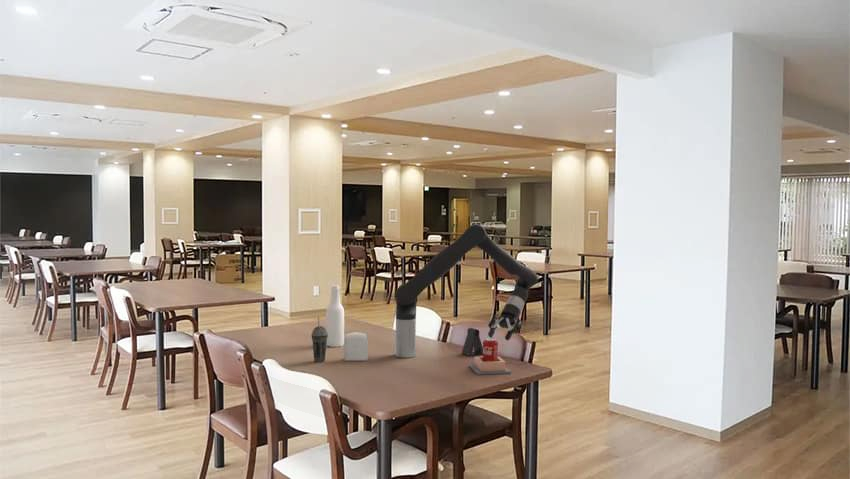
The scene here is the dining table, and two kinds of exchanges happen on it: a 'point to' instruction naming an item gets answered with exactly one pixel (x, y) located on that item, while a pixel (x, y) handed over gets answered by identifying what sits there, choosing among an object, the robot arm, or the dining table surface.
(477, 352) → the phone stand
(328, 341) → the alcohol
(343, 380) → the dining table surface
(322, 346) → the beverage cup
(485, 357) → the beverage can
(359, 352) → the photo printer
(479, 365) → the holder
